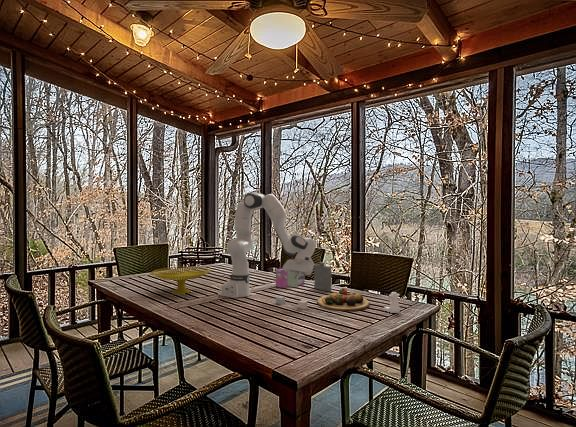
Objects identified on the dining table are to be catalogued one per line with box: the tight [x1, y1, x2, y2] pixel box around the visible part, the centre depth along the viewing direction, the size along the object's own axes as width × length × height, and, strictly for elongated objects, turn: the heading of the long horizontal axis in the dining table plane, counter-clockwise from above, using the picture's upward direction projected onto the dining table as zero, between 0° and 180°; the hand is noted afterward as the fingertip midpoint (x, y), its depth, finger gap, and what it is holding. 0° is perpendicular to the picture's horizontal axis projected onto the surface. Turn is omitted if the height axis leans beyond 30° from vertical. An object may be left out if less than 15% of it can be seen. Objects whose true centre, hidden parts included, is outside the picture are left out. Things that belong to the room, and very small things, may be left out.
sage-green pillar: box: [288, 271, 299, 288], centre depth 217 cm, size 4×4×8 cm
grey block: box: [275, 295, 286, 305], centre depth 221 cm, size 4×4×4 cm
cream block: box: [297, 299, 309, 310], centre depth 211 cm, size 4×4×4 cm
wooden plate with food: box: [316, 287, 370, 312], centre depth 220 cm, size 32×32×8 cm
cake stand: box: [150, 265, 211, 295], centre depth 247 cm, size 40×40×15 cm
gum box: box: [275, 267, 306, 289], centre depth 273 cm, size 24×8×14 cm, turn 126°
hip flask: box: [313, 261, 332, 293], centre depth 259 cm, size 16×4×20 cm, turn 41°
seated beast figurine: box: [382, 291, 401, 314], centre depth 203 cm, size 10×9×12 cm
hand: (292, 278), depth 217 cm, fingers closed on sage-green pillar, 4 cm apart
